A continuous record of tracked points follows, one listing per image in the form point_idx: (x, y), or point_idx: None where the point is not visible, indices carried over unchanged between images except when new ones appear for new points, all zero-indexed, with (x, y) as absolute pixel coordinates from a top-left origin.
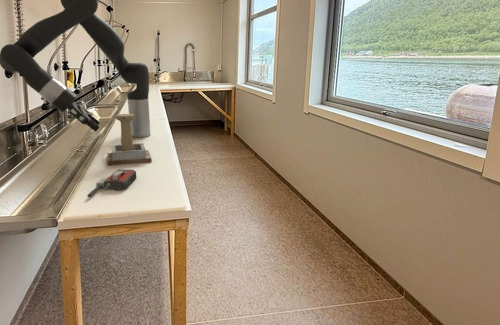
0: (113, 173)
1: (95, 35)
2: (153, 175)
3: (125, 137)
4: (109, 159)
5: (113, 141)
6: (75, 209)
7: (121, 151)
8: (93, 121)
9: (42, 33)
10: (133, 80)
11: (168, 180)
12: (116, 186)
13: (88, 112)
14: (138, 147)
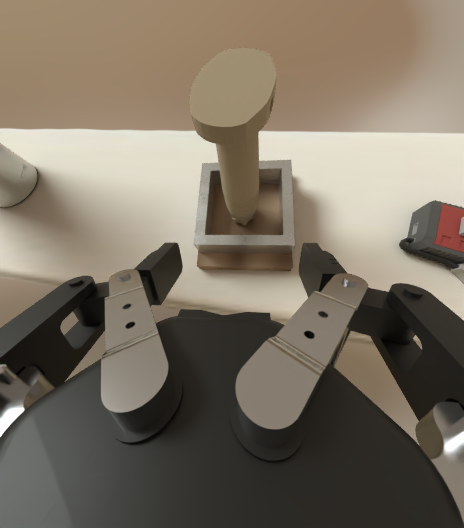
0: (454, 252)
1: None
2: (399, 176)
3: (258, 181)
4: (272, 262)
5: (41, 250)
6: None
7: (288, 219)
8: (169, 272)
9: None
10: None
11: (443, 151)
12: None
13: (115, 288)
14: (212, 182)
